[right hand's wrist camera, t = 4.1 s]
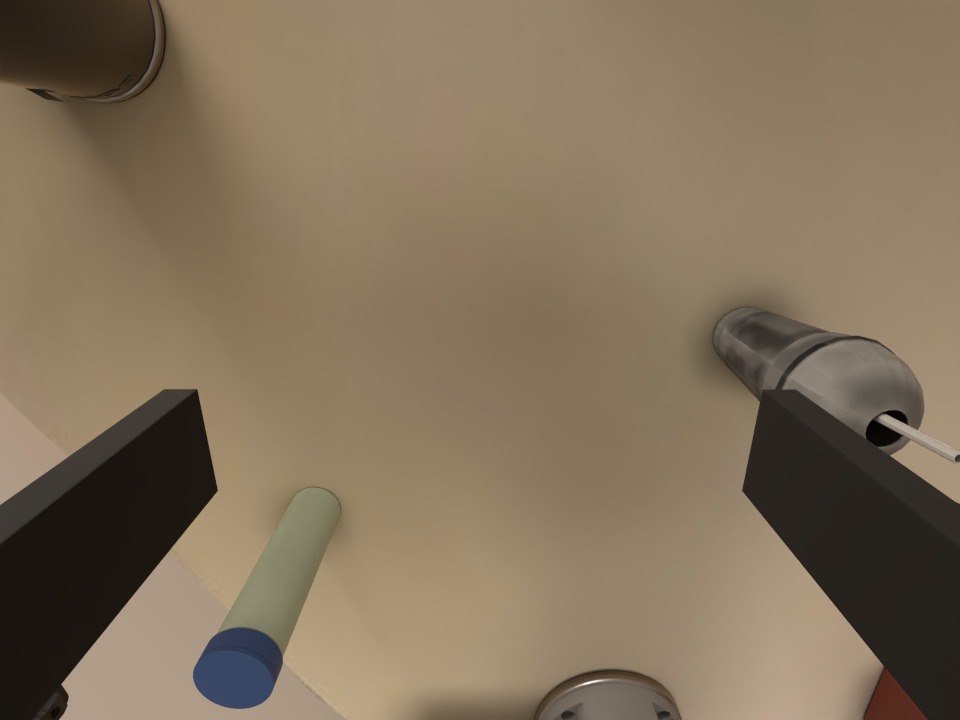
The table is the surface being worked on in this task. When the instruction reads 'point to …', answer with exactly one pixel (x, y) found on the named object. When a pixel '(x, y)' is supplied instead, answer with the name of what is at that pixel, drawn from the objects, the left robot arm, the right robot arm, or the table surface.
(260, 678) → the lid
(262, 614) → the bottle
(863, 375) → the beverage cup
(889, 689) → the bucket
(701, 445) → the table surface
